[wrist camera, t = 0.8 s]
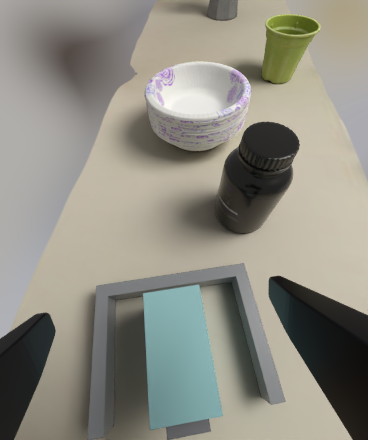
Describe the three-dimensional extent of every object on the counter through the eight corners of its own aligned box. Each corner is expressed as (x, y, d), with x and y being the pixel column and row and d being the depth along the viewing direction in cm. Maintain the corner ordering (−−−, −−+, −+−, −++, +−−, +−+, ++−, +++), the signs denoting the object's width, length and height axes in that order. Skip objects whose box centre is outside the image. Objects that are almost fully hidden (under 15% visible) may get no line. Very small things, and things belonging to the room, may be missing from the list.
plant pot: (260, 90, 42) (275, 36, 35) (248, 67, 47) (259, 15, 40) (305, 87, 43) (330, 33, 35) (289, 64, 47) (308, 12, 40)
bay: (274, 394, 19) (285, 401, 16) (99, 428, 18) (87, 440, 16) (239, 269, 24) (244, 263, 22) (104, 290, 23) (96, 285, 21)
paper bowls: (154, 107, 40) (147, 60, 33) (233, 105, 40) (242, 57, 33) (149, 166, 33) (139, 120, 26) (246, 163, 33) (262, 116, 26)
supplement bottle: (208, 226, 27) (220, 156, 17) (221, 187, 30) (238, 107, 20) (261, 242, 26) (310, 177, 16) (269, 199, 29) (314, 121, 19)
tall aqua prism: (214, 404, 18) (226, 436, 12) (163, 413, 18) (150, 451, 12) (196, 299, 23) (199, 284, 17) (155, 305, 23) (143, 293, 17)
